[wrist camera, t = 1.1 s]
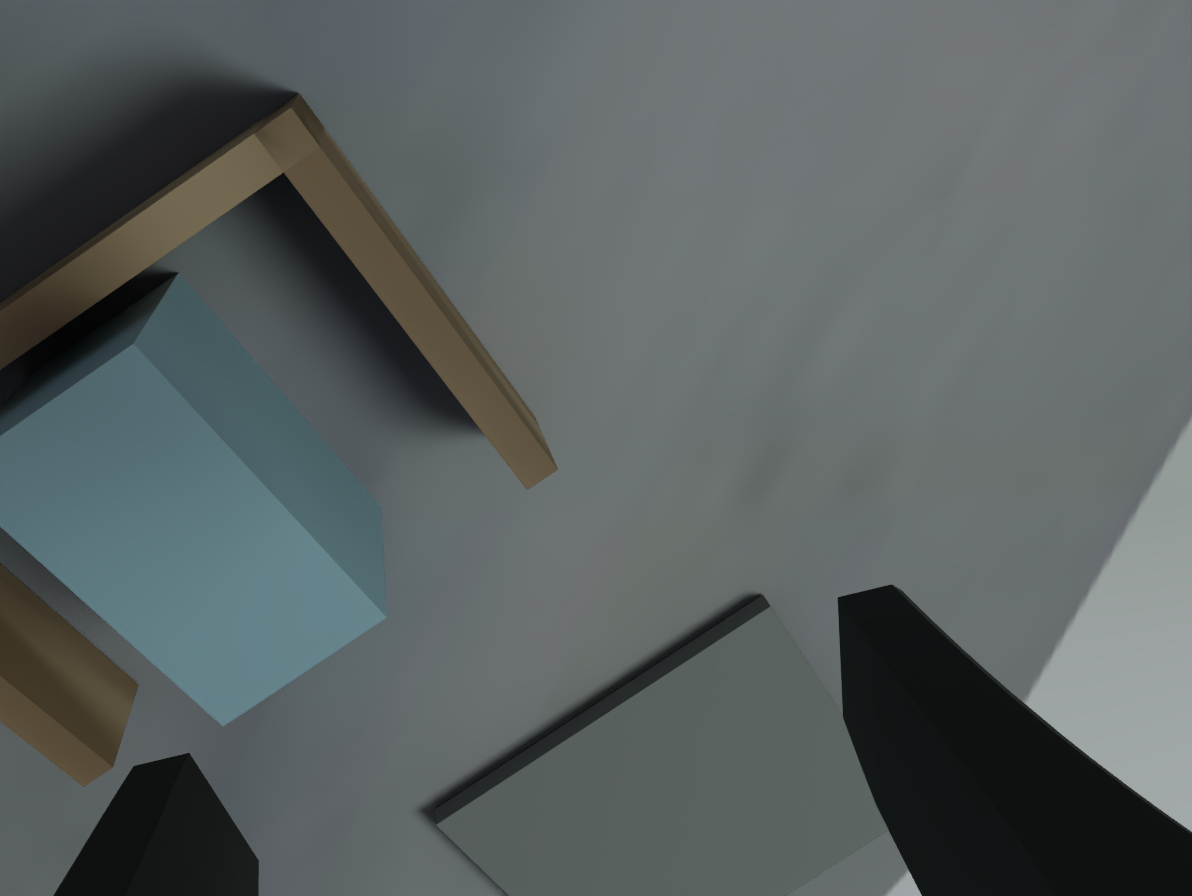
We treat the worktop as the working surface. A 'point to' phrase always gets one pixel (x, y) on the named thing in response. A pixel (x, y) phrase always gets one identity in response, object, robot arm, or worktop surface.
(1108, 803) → the robot arm
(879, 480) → the worktop surface
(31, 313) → the arch frame
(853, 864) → the worktop surface
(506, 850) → the mat
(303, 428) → the block
